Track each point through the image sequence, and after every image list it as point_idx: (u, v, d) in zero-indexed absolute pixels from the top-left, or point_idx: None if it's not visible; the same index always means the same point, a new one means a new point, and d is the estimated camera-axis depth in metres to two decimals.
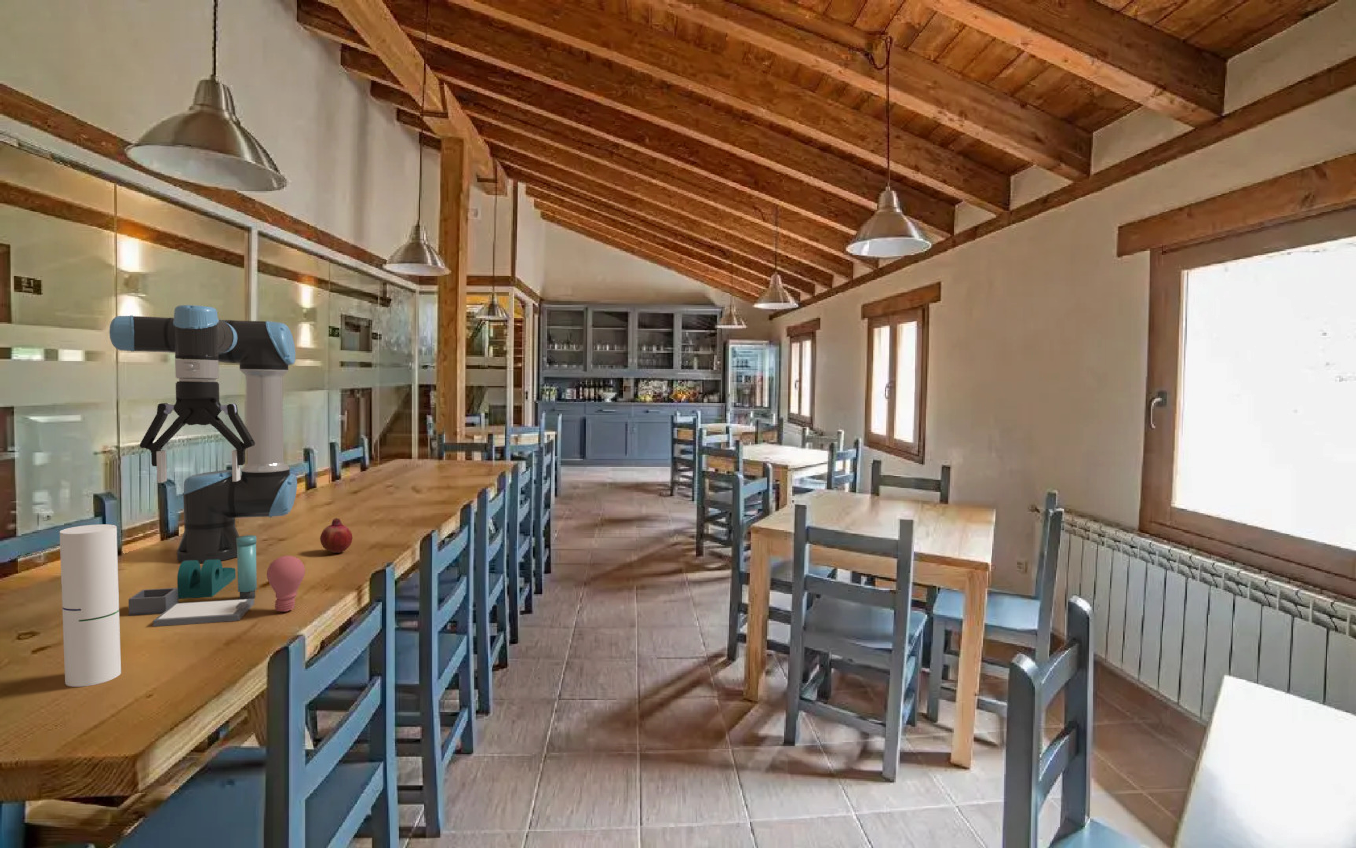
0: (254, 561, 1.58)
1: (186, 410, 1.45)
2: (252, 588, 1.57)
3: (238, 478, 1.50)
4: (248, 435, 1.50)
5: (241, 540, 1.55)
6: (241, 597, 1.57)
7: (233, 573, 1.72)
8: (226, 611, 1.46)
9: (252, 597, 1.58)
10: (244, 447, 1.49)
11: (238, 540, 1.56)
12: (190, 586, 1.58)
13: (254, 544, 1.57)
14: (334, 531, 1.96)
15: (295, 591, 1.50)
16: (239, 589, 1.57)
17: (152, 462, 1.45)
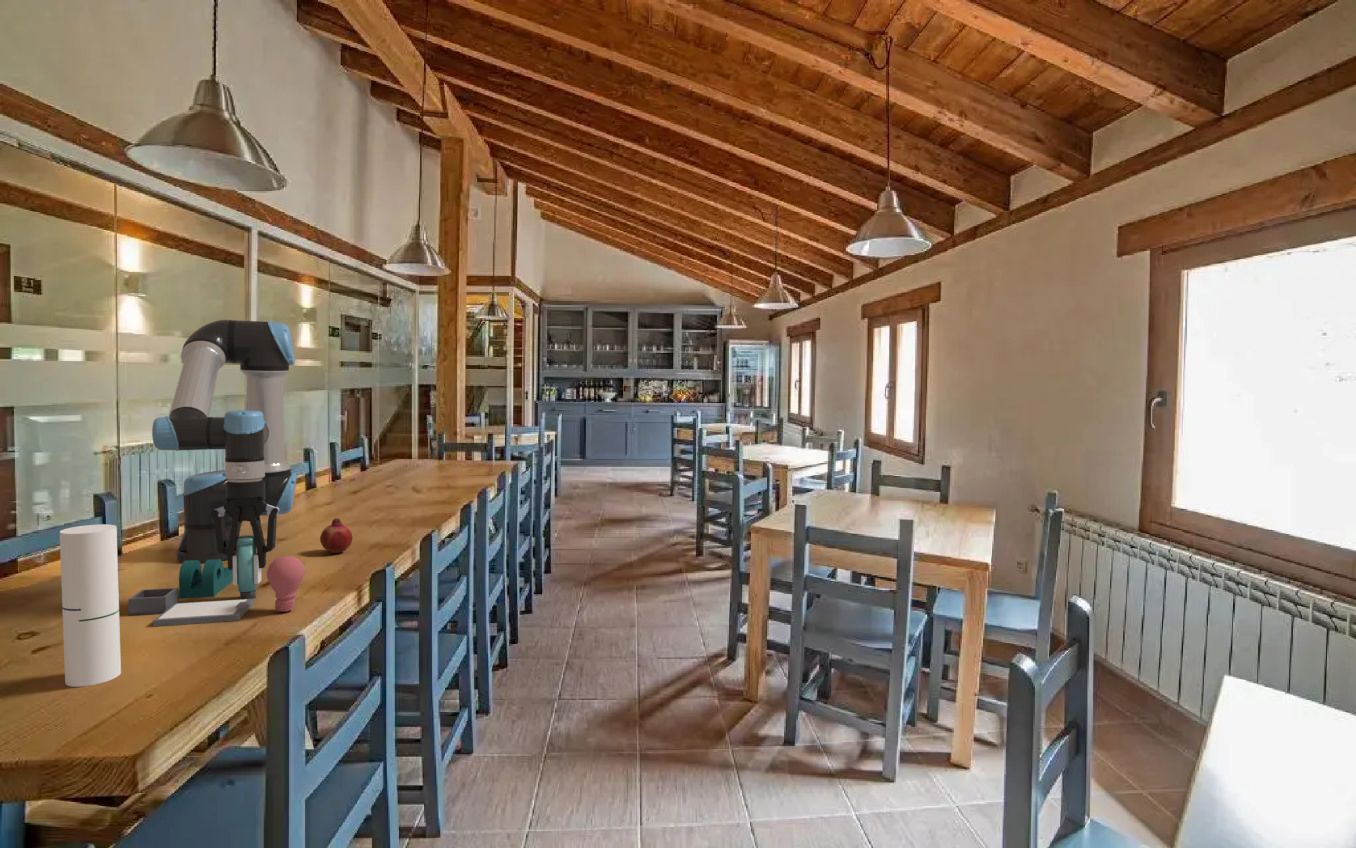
0: None
1: (235, 509, 1.55)
2: (252, 588, 1.57)
3: (259, 580, 1.59)
4: (273, 540, 1.59)
5: (241, 540, 1.56)
6: (241, 597, 1.57)
7: None
8: (226, 611, 1.46)
9: (252, 597, 1.58)
10: (264, 553, 1.58)
11: (238, 540, 1.56)
12: (192, 586, 1.58)
13: (254, 544, 1.57)
14: (334, 531, 1.96)
15: (295, 591, 1.50)
16: (239, 589, 1.57)
17: (228, 566, 1.56)
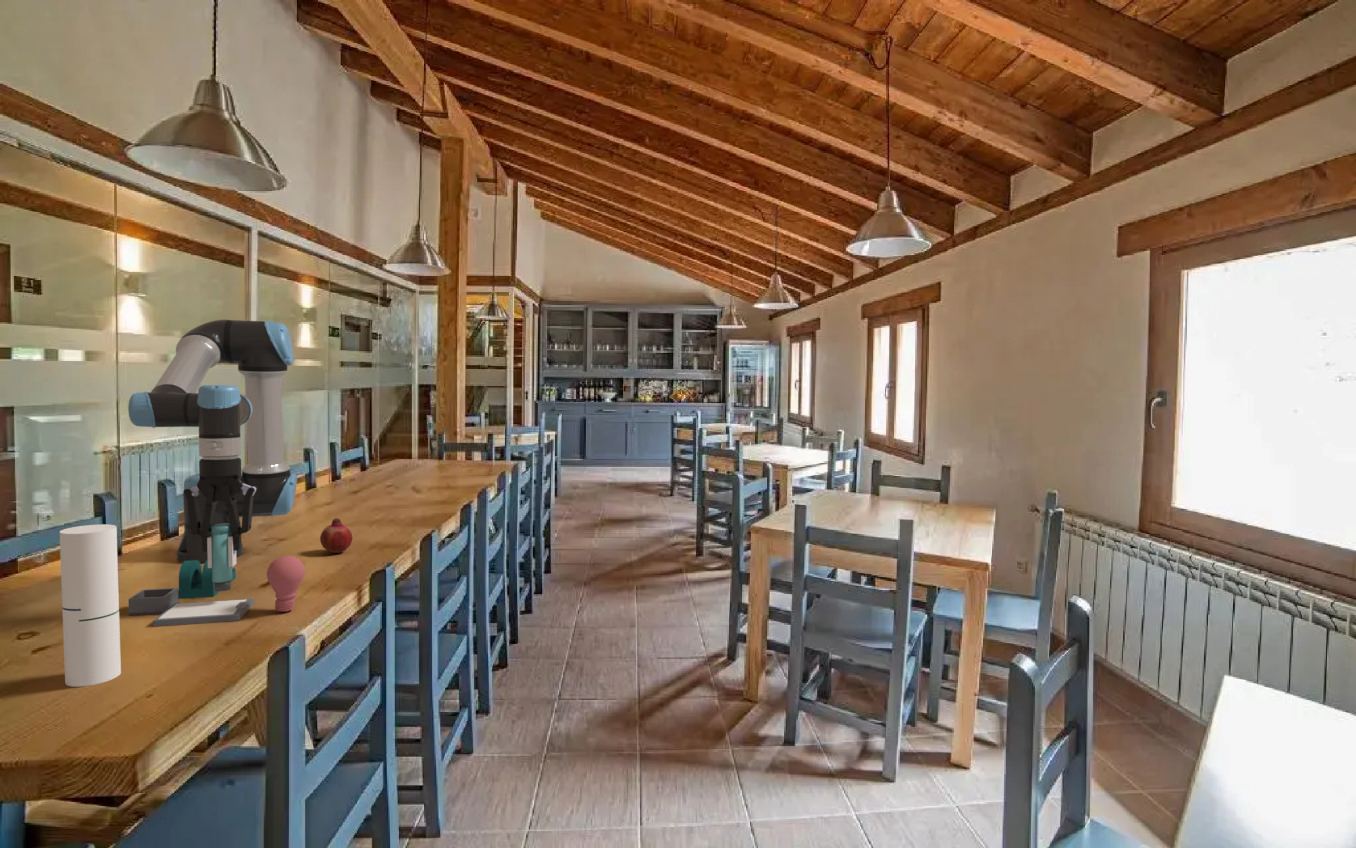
0: None
1: (209, 488, 1.48)
2: (227, 578, 1.50)
3: (234, 563, 1.52)
4: (249, 521, 1.52)
5: (216, 528, 1.48)
6: (215, 588, 1.50)
7: (233, 573, 1.72)
8: (226, 611, 1.46)
9: (227, 588, 1.51)
10: (239, 535, 1.51)
11: (213, 528, 1.49)
12: (191, 586, 1.58)
13: (230, 532, 1.50)
14: (334, 531, 1.96)
15: (295, 591, 1.50)
16: (213, 579, 1.49)
17: (203, 548, 1.49)
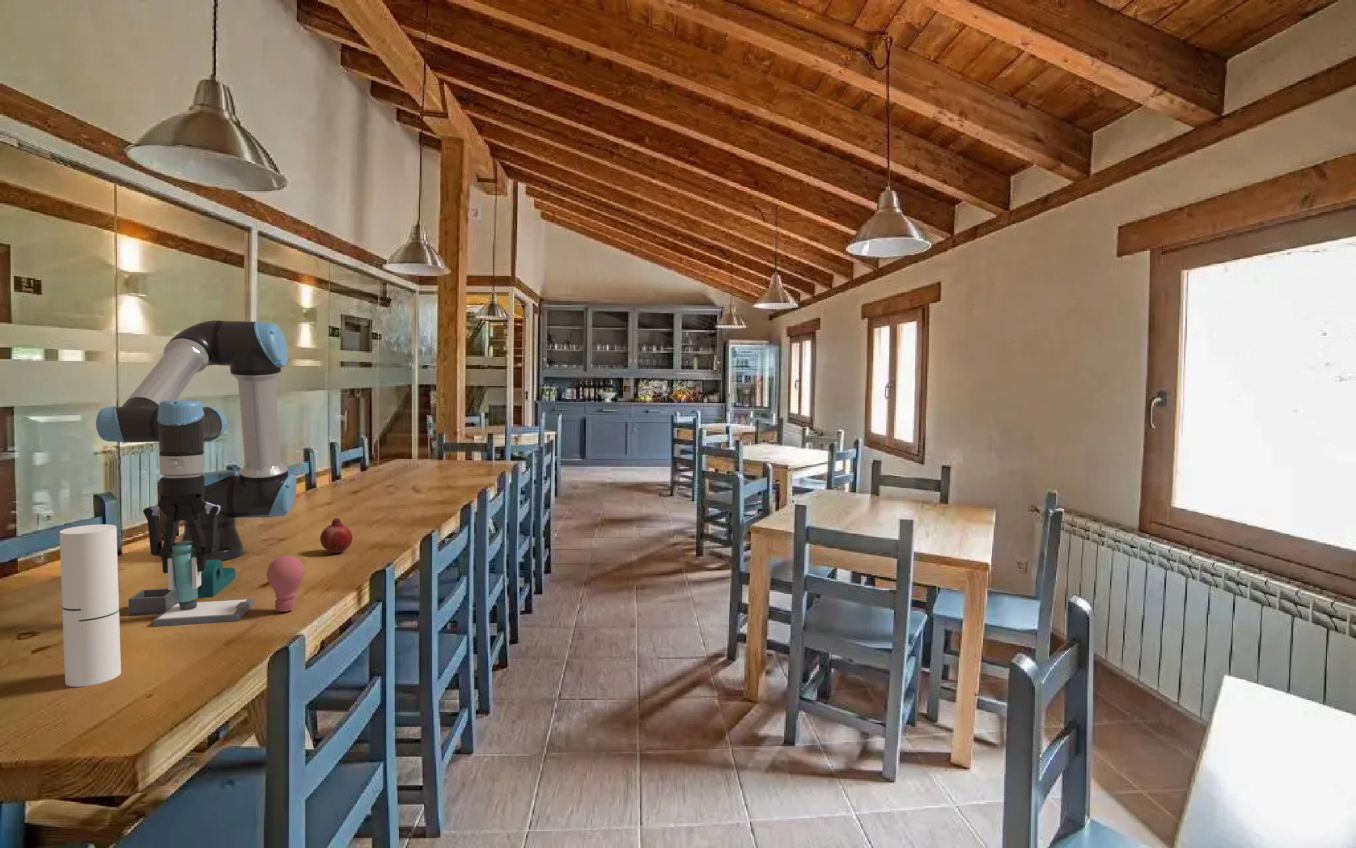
0: None
1: (170, 507, 1.42)
2: (192, 597, 1.46)
3: (198, 584, 1.46)
4: (214, 541, 1.46)
5: (176, 549, 1.42)
6: (181, 606, 1.46)
7: (233, 573, 1.72)
8: (226, 611, 1.46)
9: (193, 606, 1.47)
10: (204, 555, 1.45)
11: (173, 548, 1.43)
12: None
13: (191, 552, 1.45)
14: (334, 531, 1.96)
15: (295, 591, 1.50)
16: (178, 598, 1.45)
17: (163, 569, 1.43)
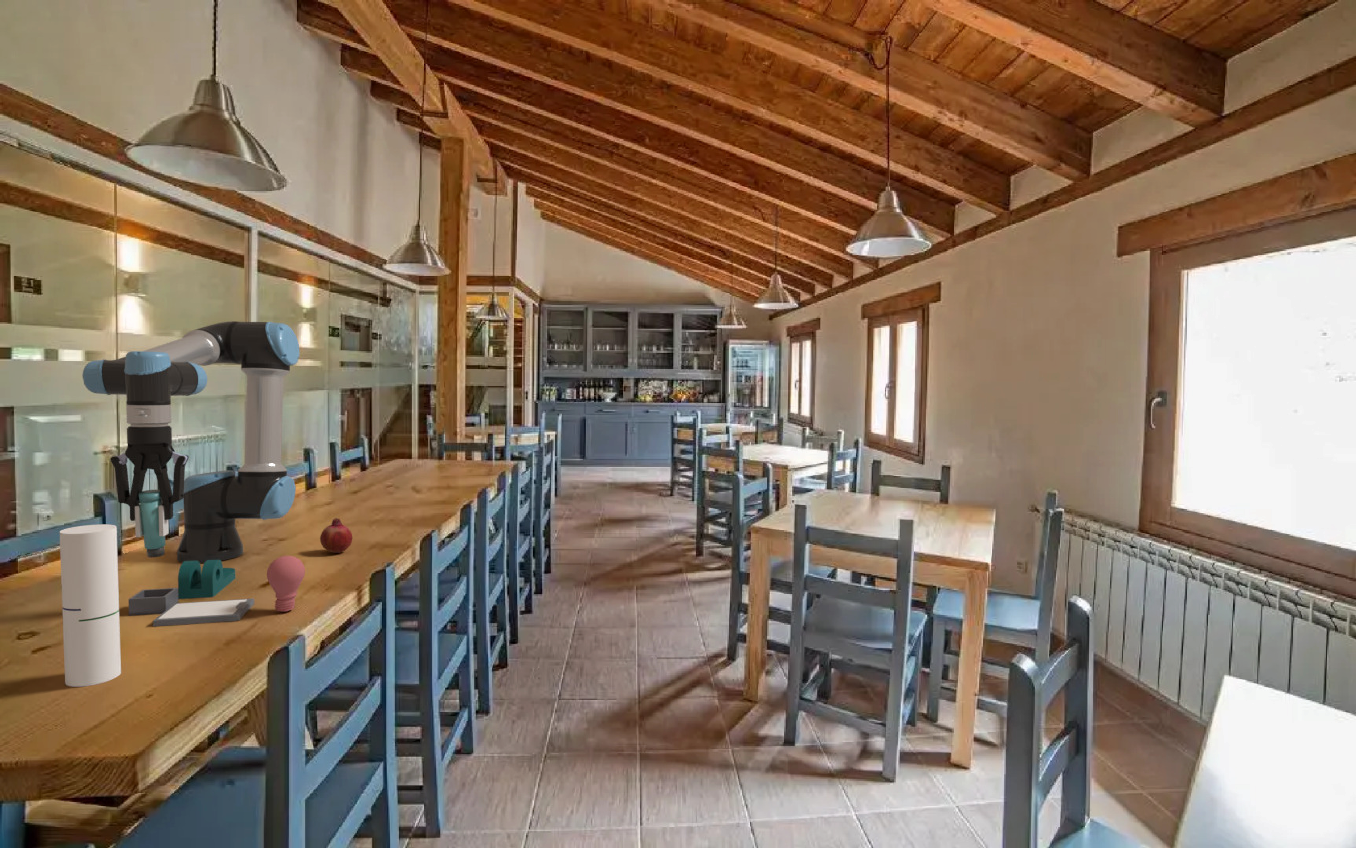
0: None
1: (137, 456, 1.45)
2: (159, 545, 1.49)
3: (166, 532, 1.49)
4: (181, 490, 1.49)
5: (143, 496, 1.46)
6: (148, 554, 1.49)
7: (233, 573, 1.72)
8: (226, 611, 1.46)
9: (160, 554, 1.50)
10: (171, 503, 1.49)
11: (140, 496, 1.46)
12: (191, 587, 1.58)
13: (158, 500, 1.48)
14: (334, 531, 1.96)
15: (295, 591, 1.50)
16: (145, 546, 1.48)
17: (130, 517, 1.47)
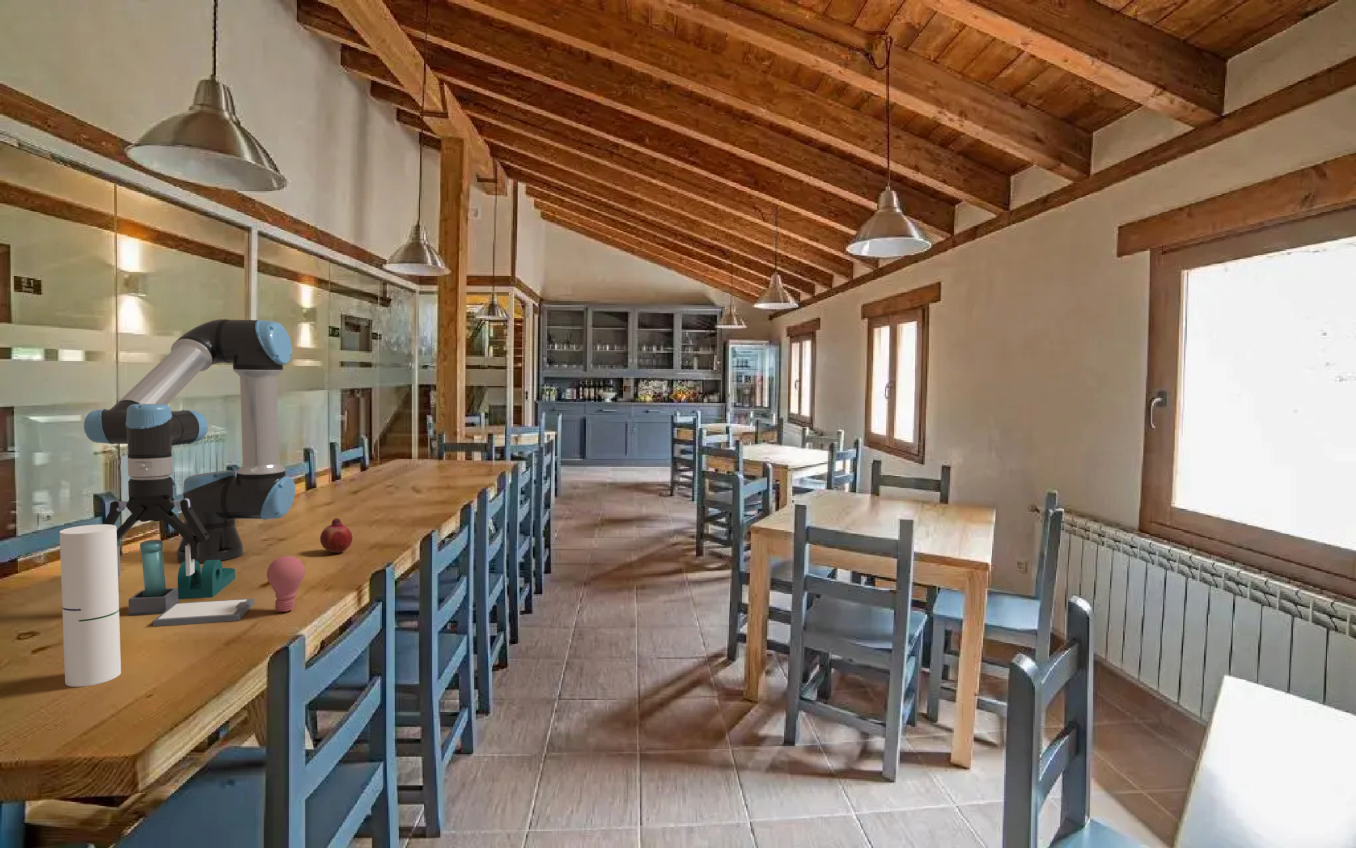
0: (161, 567, 1.49)
1: (139, 508, 1.46)
2: (160, 595, 1.50)
3: (192, 572, 1.51)
4: (202, 529, 1.51)
5: (144, 547, 1.46)
6: None
7: (233, 573, 1.72)
8: (226, 611, 1.46)
9: None
10: (198, 541, 1.51)
11: (141, 547, 1.47)
12: (190, 587, 1.58)
13: (159, 550, 1.48)
14: (334, 531, 1.96)
15: (295, 591, 1.50)
16: (146, 596, 1.49)
17: None
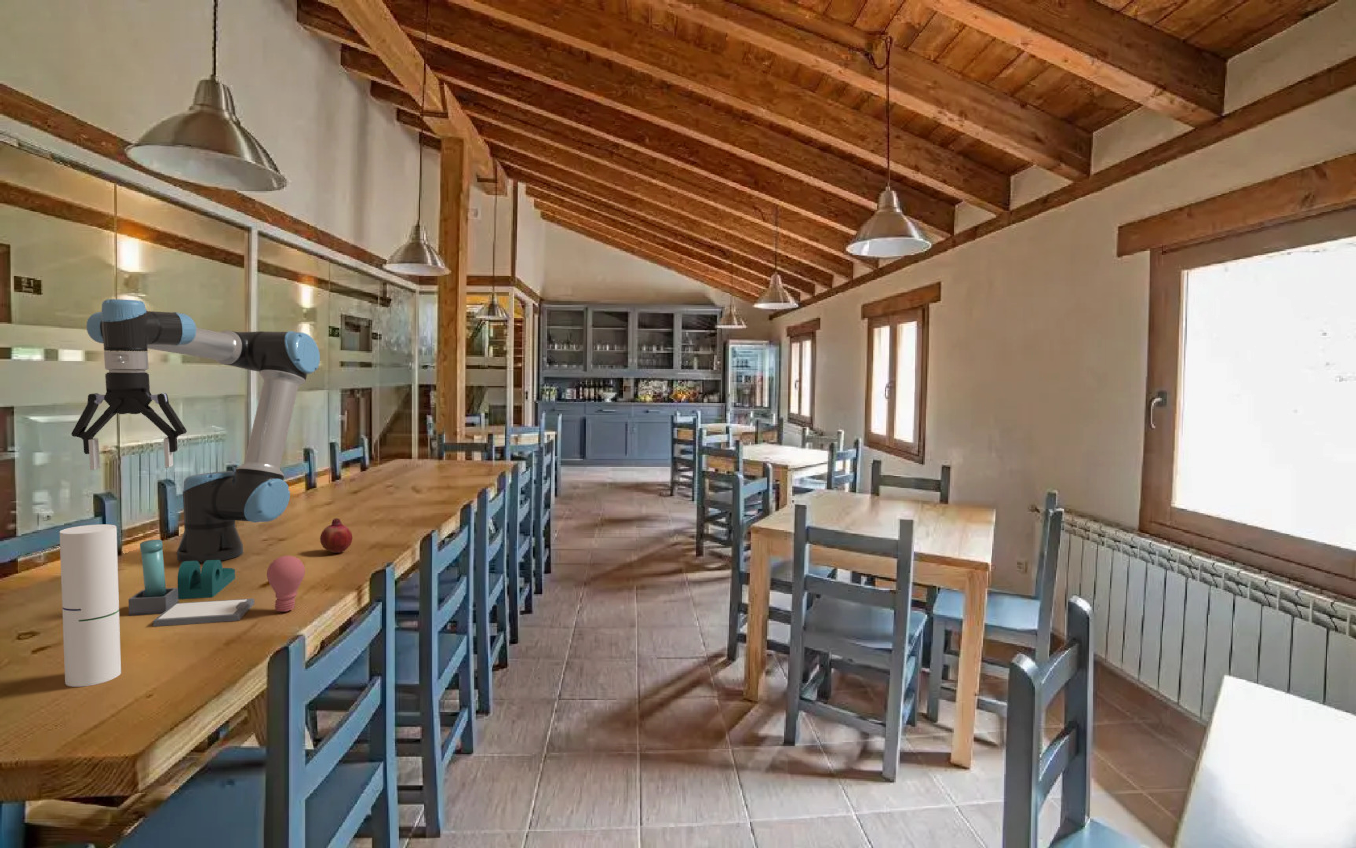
0: (161, 567, 1.49)
1: (117, 400, 1.51)
2: (160, 595, 1.50)
3: (171, 464, 1.57)
4: (179, 423, 1.57)
5: (144, 547, 1.46)
6: None
7: (233, 573, 1.72)
8: (226, 611, 1.46)
9: None
10: (176, 434, 1.56)
11: (141, 547, 1.47)
12: (190, 587, 1.58)
13: (159, 550, 1.48)
14: (334, 531, 1.96)
15: (295, 591, 1.50)
16: (146, 596, 1.49)
17: (84, 450, 1.51)
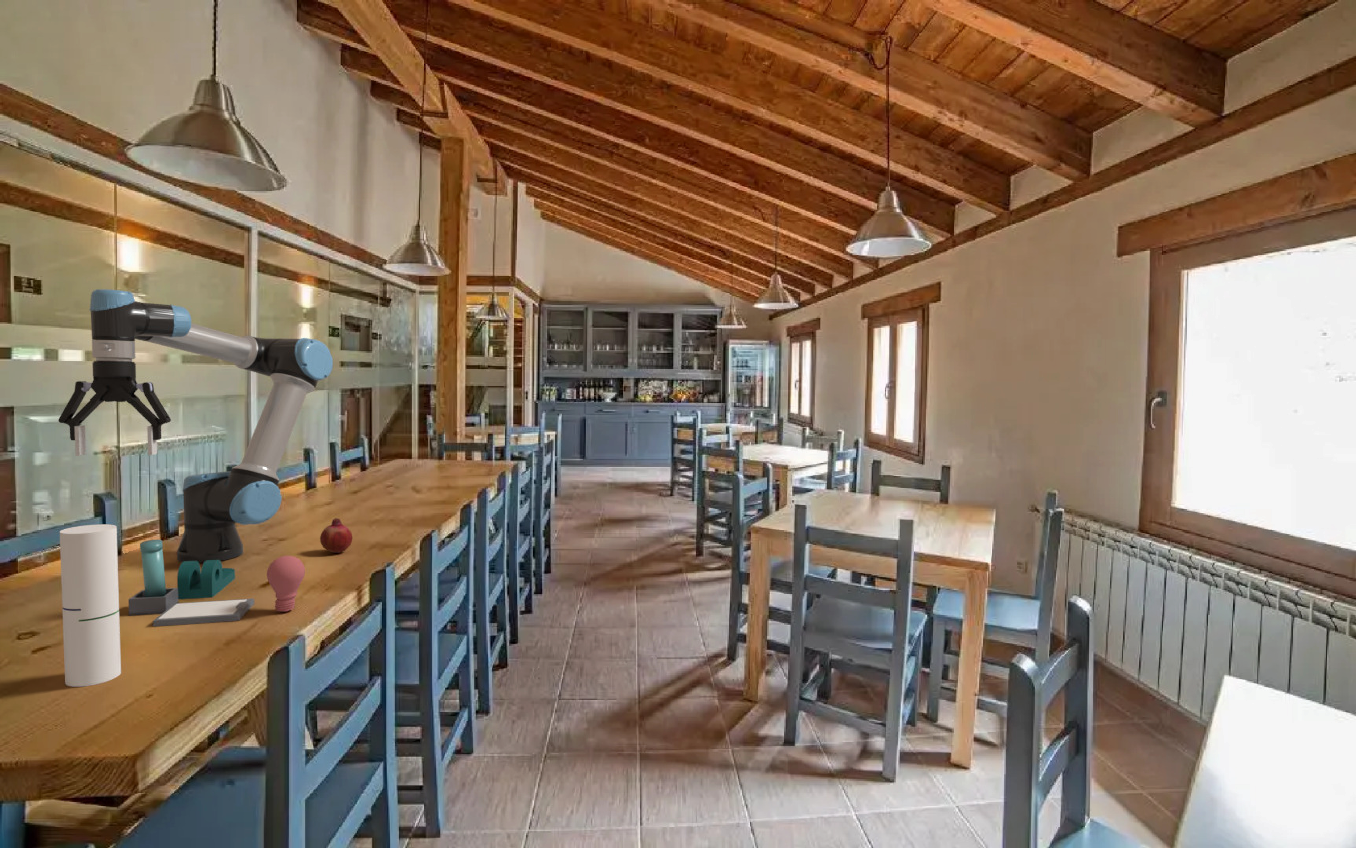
0: (161, 567, 1.49)
1: (102, 388, 1.54)
2: (160, 595, 1.50)
3: (154, 452, 1.60)
4: (163, 412, 1.60)
5: (144, 547, 1.46)
6: None
7: (232, 574, 1.71)
8: (226, 611, 1.46)
9: None
10: (159, 423, 1.59)
11: (141, 547, 1.47)
12: (190, 587, 1.58)
13: (159, 550, 1.48)
14: (334, 531, 1.96)
15: (295, 591, 1.50)
16: (146, 596, 1.49)
17: (71, 436, 1.54)
